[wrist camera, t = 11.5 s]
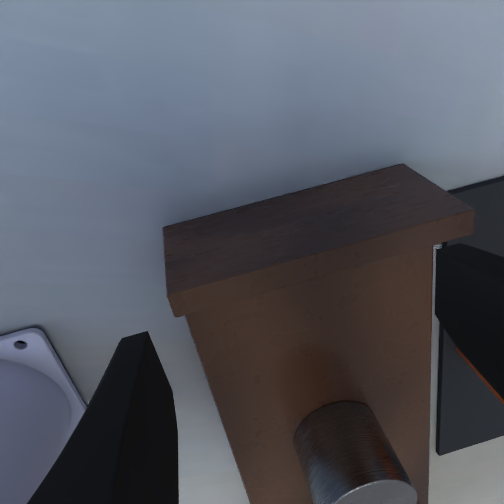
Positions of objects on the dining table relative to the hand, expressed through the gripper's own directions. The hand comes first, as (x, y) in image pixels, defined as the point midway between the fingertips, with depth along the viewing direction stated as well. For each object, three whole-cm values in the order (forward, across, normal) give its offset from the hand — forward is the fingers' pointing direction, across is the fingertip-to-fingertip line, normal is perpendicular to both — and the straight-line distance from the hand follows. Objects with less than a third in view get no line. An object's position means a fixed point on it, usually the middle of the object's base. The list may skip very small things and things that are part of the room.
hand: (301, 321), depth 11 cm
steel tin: (+7, -2, +14) cm, 16 cm away
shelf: (+9, -2, +14) cm, 17 cm away
